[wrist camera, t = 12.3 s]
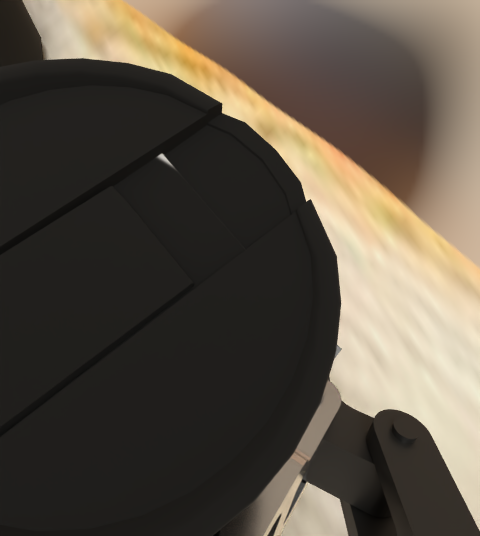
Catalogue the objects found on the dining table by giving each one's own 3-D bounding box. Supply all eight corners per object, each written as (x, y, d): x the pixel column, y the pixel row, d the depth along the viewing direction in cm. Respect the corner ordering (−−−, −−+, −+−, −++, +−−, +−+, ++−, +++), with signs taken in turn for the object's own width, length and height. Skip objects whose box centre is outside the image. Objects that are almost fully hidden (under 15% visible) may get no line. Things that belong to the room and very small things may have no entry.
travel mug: (102, 358, 23) (-459, 224, 4) (196, 285, 24) (131, -78, 5) (171, 452, 22) (-128, 914, 3) (265, 370, 23) (500, 299, 4)
